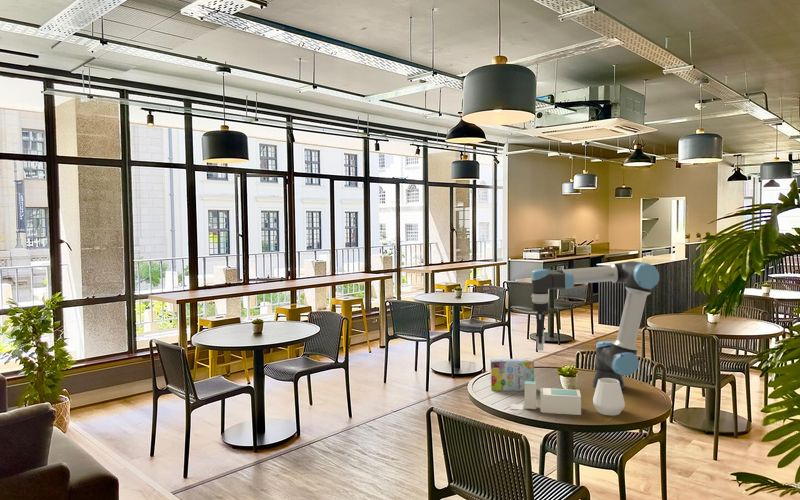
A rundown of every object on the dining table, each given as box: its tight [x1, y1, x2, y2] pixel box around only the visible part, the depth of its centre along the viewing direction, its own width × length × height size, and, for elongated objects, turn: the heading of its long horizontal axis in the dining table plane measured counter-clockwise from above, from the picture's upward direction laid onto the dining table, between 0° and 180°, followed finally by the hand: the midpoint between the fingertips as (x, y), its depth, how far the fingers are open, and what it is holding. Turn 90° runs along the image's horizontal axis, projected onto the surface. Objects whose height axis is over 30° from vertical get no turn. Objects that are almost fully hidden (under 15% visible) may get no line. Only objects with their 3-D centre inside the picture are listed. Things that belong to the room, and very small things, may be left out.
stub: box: [524, 381, 537, 410], centre depth 251 cm, size 5×4×11 cm
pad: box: [509, 403, 524, 411], centre depth 253 cm, size 6×7×1 cm
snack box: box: [489, 358, 535, 392], centre depth 279 cm, size 21×6×15 cm, turn 84°
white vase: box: [592, 378, 626, 416], centre depth 244 cm, size 13×13×14 cm
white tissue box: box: [540, 387, 582, 416], centre depth 248 cm, size 17×10×8 cm, turn 76°
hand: (540, 346), depth 263 cm, fingers open, 13 cm apart
